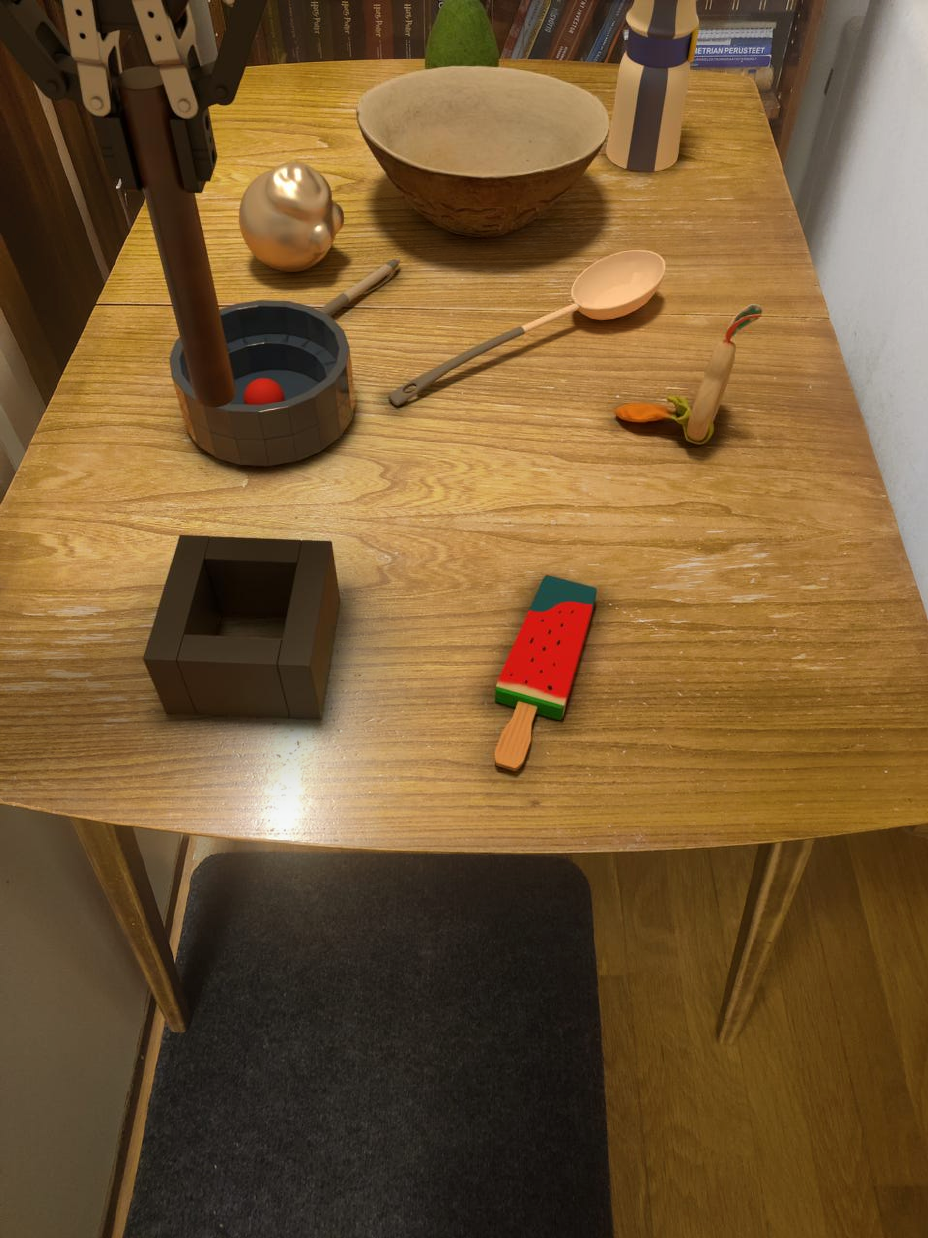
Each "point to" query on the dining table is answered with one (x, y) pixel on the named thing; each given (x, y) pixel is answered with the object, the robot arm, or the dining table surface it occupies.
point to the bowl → (482, 143)
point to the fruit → (461, 37)
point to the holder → (245, 666)
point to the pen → (362, 287)
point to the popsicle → (542, 663)
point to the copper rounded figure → (290, 217)
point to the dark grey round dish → (293, 358)
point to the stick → (177, 235)
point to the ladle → (574, 305)
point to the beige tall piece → (709, 393)
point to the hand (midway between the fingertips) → (167, 182)
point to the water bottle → (653, 84)
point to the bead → (263, 392)
